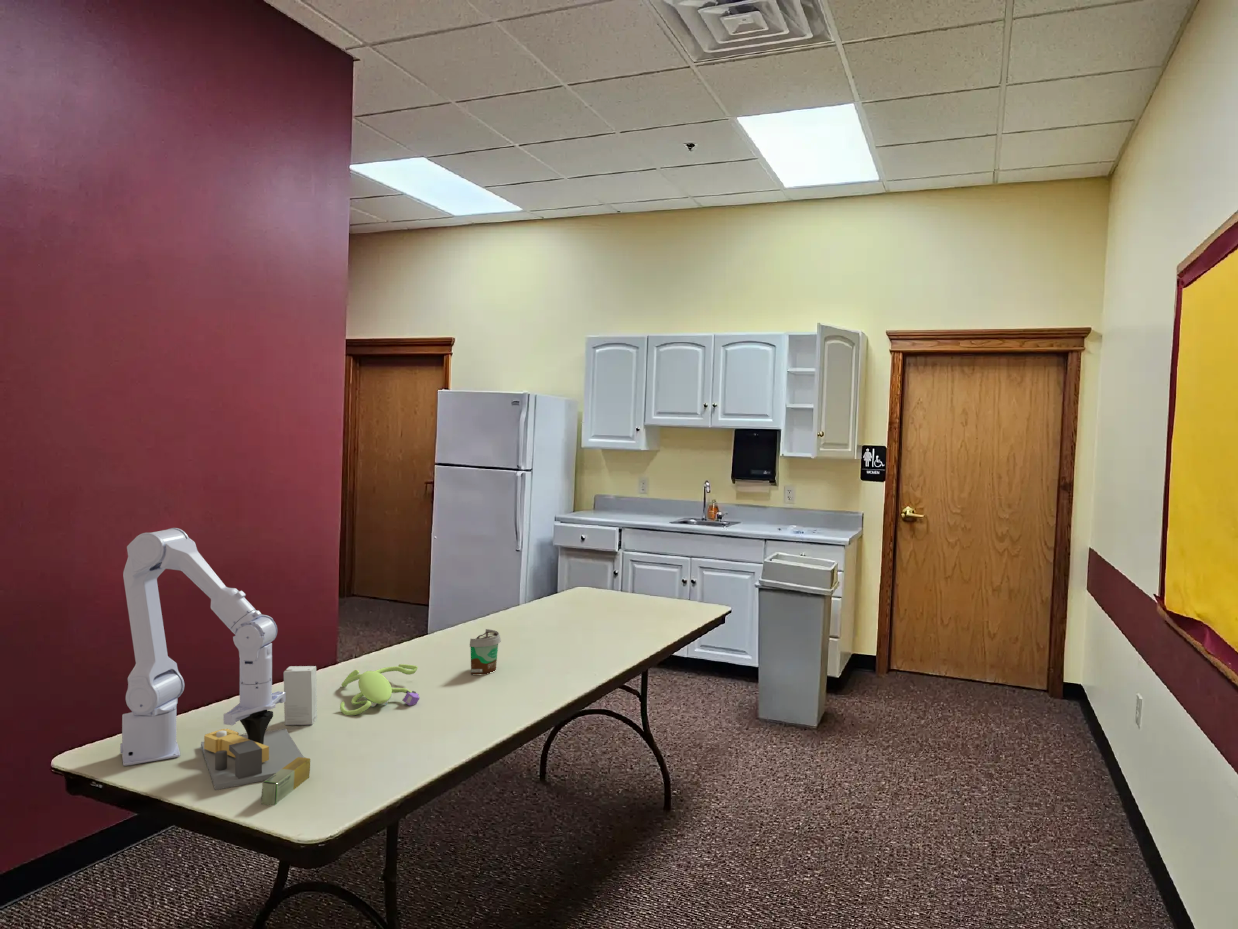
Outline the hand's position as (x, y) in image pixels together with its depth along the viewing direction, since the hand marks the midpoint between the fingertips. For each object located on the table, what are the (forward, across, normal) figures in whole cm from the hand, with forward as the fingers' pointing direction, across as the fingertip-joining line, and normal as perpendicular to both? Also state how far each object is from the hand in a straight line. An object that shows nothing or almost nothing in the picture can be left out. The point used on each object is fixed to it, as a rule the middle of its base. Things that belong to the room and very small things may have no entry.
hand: (255, 749), depth 158 cm
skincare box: (+2, +20, +6) cm, 21 cm away
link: (+1, -2, +3) cm, 3 cm away
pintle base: (+2, 0, +1) cm, 2 cm away
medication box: (+2, -9, -15) cm, 17 cm away
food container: (+3, +70, -15) cm, 72 cm away
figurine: (+3, +42, 0) cm, 42 cm away
